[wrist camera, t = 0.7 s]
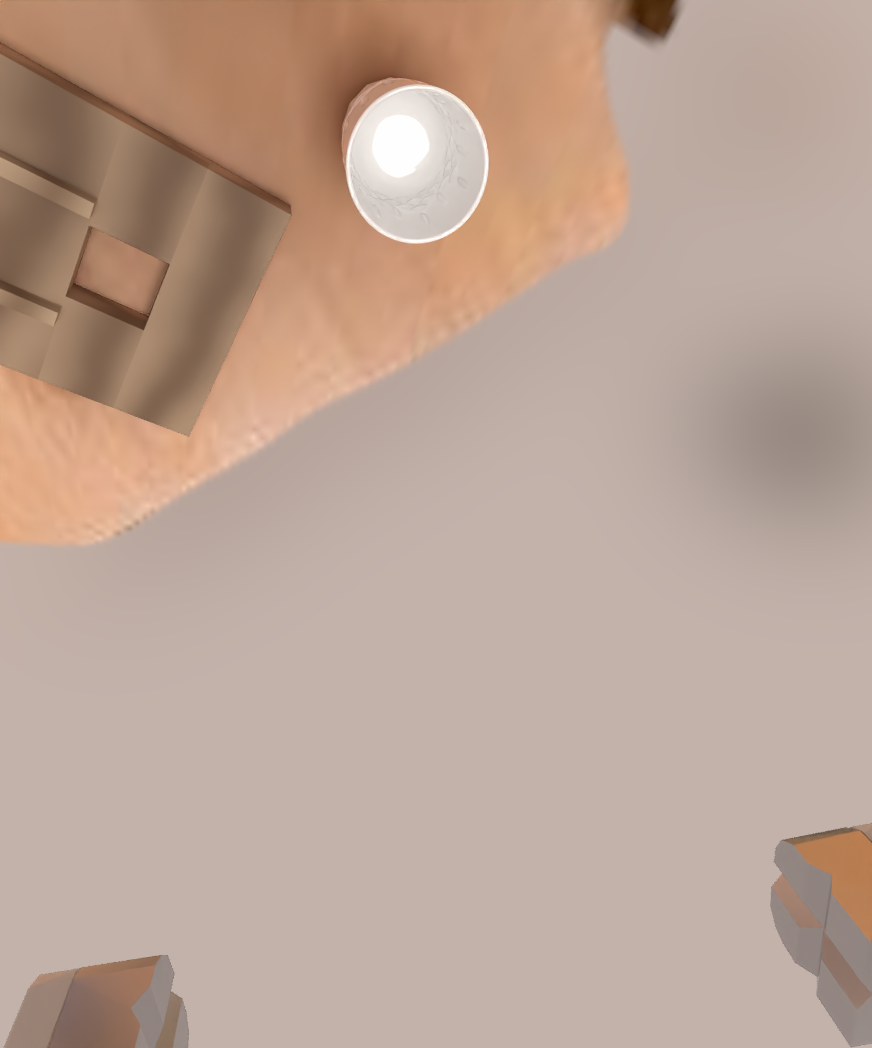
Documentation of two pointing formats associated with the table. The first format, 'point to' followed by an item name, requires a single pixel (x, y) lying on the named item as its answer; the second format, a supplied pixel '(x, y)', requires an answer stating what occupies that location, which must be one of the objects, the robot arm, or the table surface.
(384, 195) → the white cup
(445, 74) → the table surface
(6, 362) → the board
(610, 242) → the table surface
